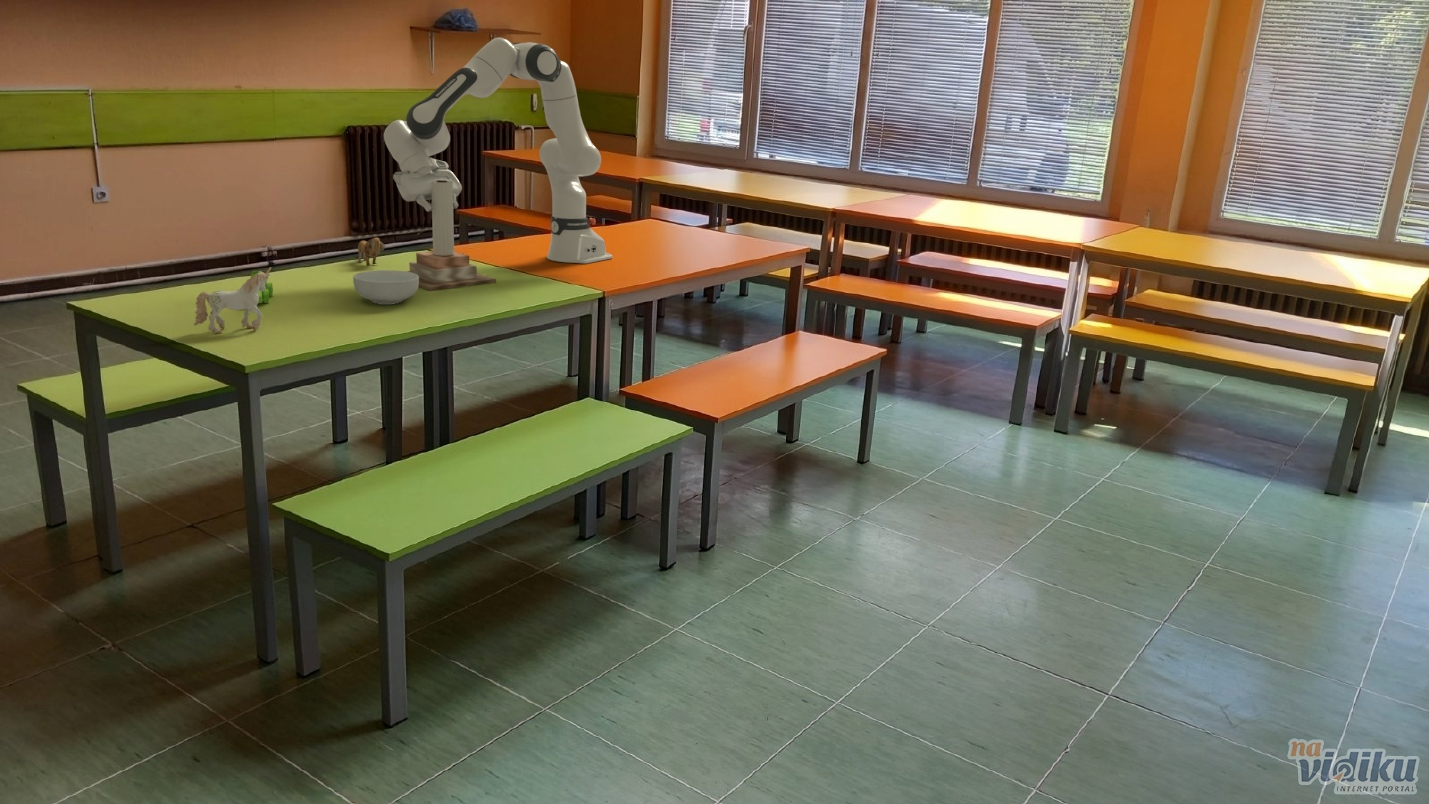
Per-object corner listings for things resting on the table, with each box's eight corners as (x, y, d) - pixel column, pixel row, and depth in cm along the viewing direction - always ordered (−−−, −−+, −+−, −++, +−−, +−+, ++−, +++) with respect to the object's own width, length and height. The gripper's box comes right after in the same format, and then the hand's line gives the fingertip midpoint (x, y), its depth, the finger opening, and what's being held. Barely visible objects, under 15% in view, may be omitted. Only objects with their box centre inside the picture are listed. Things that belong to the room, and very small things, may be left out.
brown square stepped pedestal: (455, 269, 327) (454, 245, 324) (495, 282, 312) (495, 257, 310) (390, 276, 312) (389, 251, 309) (430, 290, 297) (429, 264, 295)
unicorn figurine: (288, 327, 253) (284, 272, 249) (206, 339, 239) (200, 281, 235) (275, 320, 257) (271, 267, 253) (193, 332, 244) (187, 275, 240)
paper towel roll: (439, 257, 305) (437, 182, 298) (429, 253, 309) (427, 180, 303) (461, 255, 310) (460, 181, 303) (451, 251, 314) (449, 179, 307)
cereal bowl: (432, 301, 286) (432, 275, 284) (385, 311, 272) (384, 285, 270) (388, 291, 294) (387, 266, 292) (340, 301, 280) (339, 275, 278)
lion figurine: (388, 267, 324) (387, 238, 321) (372, 268, 320) (371, 239, 317) (363, 259, 333) (361, 230, 330) (347, 260, 329) (346, 232, 327)
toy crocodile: (267, 309, 268) (265, 285, 266) (238, 309, 266) (236, 285, 264) (275, 291, 286) (273, 269, 284) (249, 292, 284) (247, 269, 282)
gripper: (395, 165, 297) (419, 204, 295) (450, 162, 313) (474, 199, 311) (385, 179, 301) (409, 218, 299) (441, 175, 317) (464, 212, 315)
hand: (443, 208), depth 305 cm, fingers open, 8 cm apart
